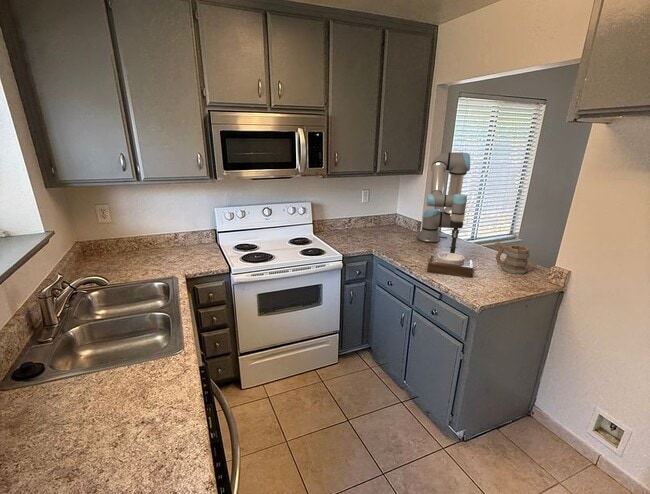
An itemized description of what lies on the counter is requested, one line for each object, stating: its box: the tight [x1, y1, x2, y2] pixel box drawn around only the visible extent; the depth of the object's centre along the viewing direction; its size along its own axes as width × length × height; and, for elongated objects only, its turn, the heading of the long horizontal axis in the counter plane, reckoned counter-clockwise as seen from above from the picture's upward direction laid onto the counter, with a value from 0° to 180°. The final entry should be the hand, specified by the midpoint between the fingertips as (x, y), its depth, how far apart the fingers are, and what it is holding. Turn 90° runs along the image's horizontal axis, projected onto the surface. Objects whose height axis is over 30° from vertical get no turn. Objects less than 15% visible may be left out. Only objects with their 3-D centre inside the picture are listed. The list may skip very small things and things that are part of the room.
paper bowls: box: [436, 252, 466, 266], centre depth 213 cm, size 15×15×8 cm
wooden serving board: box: [427, 255, 474, 279], centre depth 211 cm, size 17×24×6 cm
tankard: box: [494, 241, 531, 275], centre depth 212 cm, size 20×13×15 cm, turn 42°
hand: (451, 258), depth 221 cm, fingers closed
